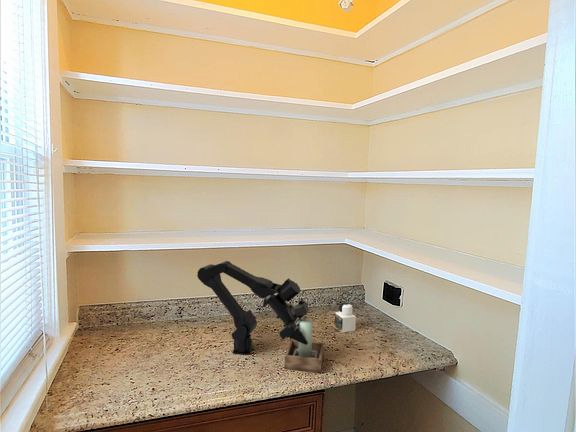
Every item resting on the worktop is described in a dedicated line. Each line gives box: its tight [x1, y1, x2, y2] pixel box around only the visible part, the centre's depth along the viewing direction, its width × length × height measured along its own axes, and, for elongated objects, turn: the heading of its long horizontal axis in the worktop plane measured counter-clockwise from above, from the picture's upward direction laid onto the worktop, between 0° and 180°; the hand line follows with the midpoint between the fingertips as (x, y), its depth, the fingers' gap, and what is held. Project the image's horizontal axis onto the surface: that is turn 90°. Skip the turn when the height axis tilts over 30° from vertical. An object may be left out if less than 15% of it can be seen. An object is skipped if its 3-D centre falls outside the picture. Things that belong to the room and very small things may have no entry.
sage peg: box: [298, 318, 314, 358], centre depth 131 cm, size 5×5×14 cm
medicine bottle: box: [334, 302, 357, 334], centre depth 161 cm, size 7×7×12 cm
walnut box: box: [284, 339, 325, 374], centre depth 131 cm, size 13×13×5 cm
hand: (308, 340), depth 130 cm, fingers closed on sage peg, 5 cm apart
